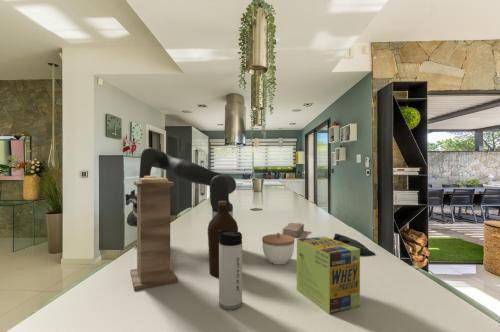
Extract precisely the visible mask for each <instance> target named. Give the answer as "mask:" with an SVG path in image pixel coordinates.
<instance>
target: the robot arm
mask: <svg viewBox="0 0 500 332" xmlns="http://www.w3.org/2000/svg"><path fill="white" fill-rule="evenodd" d="M140 155H141V156H140V160H139V164H140V165H139V176H138V177H139V178H144V176H151V172H152V169H153V168H157V169H162V170H166V171H167V172H170V173H171V174H173V176H175V177H177V178H179V179H181V180H183V181H186V182H189V183H192V184H198V185H204V186H208V187H209V201H210V202H209V203H210V206H211V219H212V218H213V217H214V216H215V215H216V214H217V213H218V205H219V203H218V201H227V205H228V213H229V214H230V215H231V216H232V217H233V218H234V214H233V213H234V206H233V205H234V204H232V202H231V201H230V196H229V195H230V194H232V193H234V192H235V191H236V190H237V189H236V188H237V183H236V180H235V178H234V177H233V176H232V175H229V174H225V173H221V172H217V171H214V170H211V169H208V168H206V167H205V166H202V165H199V164H197V163H196V162H195V163H194V162H192V161H190V160H188V159H187V160H186V159H183V158H178V157H174V156H171V155H170V154H167V153H166V152H164V151H162V150H160V149H157V148H154V147H150V146H149V147H146V148H144V149H143V150H142V152H141V154H140ZM139 178H138V179H139ZM124 196H125V206H129V205H130V204H132V208H131V209H132V210H131V211H130V212H129V213H128V215H127V217H126V224H127V225H129V227H136V228H137V193H136V189H133V190H131V191H130V193H127V194H125V195H124Z"/></svg>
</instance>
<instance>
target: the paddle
mask: <svg viewBox="0 0 500 332" xmlns="http://www.w3.org/2000/svg"><path fill="white" fill-rule="evenodd" d="M138 181H139V182H141V183H168V181H169V178H166V177H156V176H154V175H150V176H144V178H138Z"/></svg>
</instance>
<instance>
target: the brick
mask: <svg viewBox="0 0 500 332" xmlns="http://www.w3.org/2000/svg"><path fill="white" fill-rule="evenodd" d="M304 230H305V224H304V223H301V222H299V223H298V222H289V223H288V224H287V225H286V226H284V227H283V228H282V234H283V235H289V236H292V237H293V238H294V239H296V238H297V239H298V237H299V236H301V234H302V233H303V232H304Z"/></svg>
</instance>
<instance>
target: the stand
mask: <svg viewBox="0 0 500 332" xmlns="http://www.w3.org/2000/svg"><path fill="white" fill-rule="evenodd" d="M133 185H135V186H136V194H137V227H136V265H137V266H136V268H133V269H130V278H131V282H132V286H133V291H134V292H135V291H139V290H140V291H141V290H145V289H151V288H156V287H160V286H166V285H170V284H175V283H179V279H178V276H177V275H176V273H175V272H174V270H173V268H172V267H171V187H173V186H175V182H173V181H170V180H168V183H141V182H139V180H135V181H133Z"/></svg>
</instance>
